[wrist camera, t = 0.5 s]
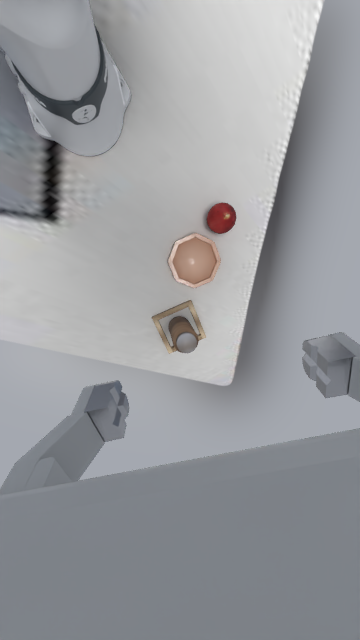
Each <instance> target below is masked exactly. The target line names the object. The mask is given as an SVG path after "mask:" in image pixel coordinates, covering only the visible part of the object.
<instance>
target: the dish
mask: <svg viewBox="0 0 360 640" xmlns="http://www.w3.org/2000/svg"><path fill="white" fill-rule="evenodd" d="M168 261H169V262H168V264H169V267H170V269H171V271H172V274H173V276H174V278H175V280H176V281H177V282H180V283H182V284H185V285H187V286H190V287H192V288H197V287H199V286H201V285H204V284H206V283H208V282H210V281H212V280H213V279H214V277H215V274H216V272H217V270H218V267H219V265H220V263H221V262H220V261H221V259H220V257H219V254H218V251H217V248H216V245H215V242H214V241H212V240H210V239H208V238H206V237H203V236H201V235H199V234H197V233H194V234H191V235H189V236H187V237H185V238H182V239H180V240H178V241H176V242H175V243H174V245H173V248H172V251H171V253H170V256H169V259H168Z"/></svg>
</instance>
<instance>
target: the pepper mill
mask: <svg viewBox="0 0 360 640" xmlns="http://www.w3.org/2000/svg"><path fill="white" fill-rule="evenodd" d="M169 331H170V334H171V338H172V341H173V344H174V347H175V348H176V350H178V351H179V352H182V353H190V352H192V351H194V350H195V348H196V347H197V345H198V336H197V334H196V332H195V331H194V329H193V328H192V326H191V324H190V323H189V321H188V320H187V319H186V318H184V317H181V316H178V317H175V318H173V319H172V320H171V321H170V323H169Z"/></svg>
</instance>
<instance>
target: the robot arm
mask: <svg viewBox="0 0 360 640" xmlns="http://www.w3.org/2000/svg"><path fill="white" fill-rule="evenodd" d="M0 47H1V48H2V49H3V50H4V52H5V53H6V55H5V58H6V60H7V63H8V65H9V67H10V69H11V71H12V73H13V74H14V75H17V77H18V80H19V83H18V87H19V89H20V91H21V93H22V94H23V95H24V98H25V101H26V105H27V108H28V111H29V114H30V117H31V120H32V123H33V126H34V129H35V131H36V132H37V134H38V135H39V136H41V137H43V138H45V139H49V140H53V141H56V142H58V143H59V144H60V145H62V146H63V147H65V148H66V149H68V150H69V151H71V152H73V153H76V154H79V155H83V156H95V155H99V154H102V153H104V152H106V151H107V150H109V149H110V148H111V147H112V146H113V145H114V144H115V143H116V141H117V140H118V138H119V136H120V133H121V130H122V126H123V118H124V112H125V110H126V108H127V106H128V104H129V102H130V99H131V92H130V88H129V86H128V85H127V83H126V81H125V79H124V78H123V76H122V74H121V73H120V71H119V69H118V67H117V66H116V64H115V62H114V60H113V59H112V57H111V55H110V54H109V52H108V50H107V48H106V47H105V45H104V43H103V41H102V40H101V38H100V36H99V33H98V31H97V29H96V26H95V24H94V21H93V17H92V12H91V8H90V4H89V0H0ZM121 85H122V88H121ZM38 121H39V122H40V123H38ZM303 350H304V351H305V352H306V353H305V355H304V356H303V358H302V360H303V367H304V370H305V372H306V374H307V375H308V377H309V378H310V379H312V380H314V381H316V387H317V388H318V389H319V390H320V392H321V393H322V394H323V395H324V397H325V398H330V397H336V396H341V395H347V394H348V395H349V396H350V397H352V398H354V399H356V400H357V401H359V402H360V345H359V344H358V343H357V342H355V341H354V340H352V339H351V338H350V337H348V336H347V335H345V334H344V333H342V332H339V333H335V334H330V335H328V336H323V337H319V338H314V339H310V340H305V341H304V342H303ZM121 390H122V385H121V383H120V381H111V382H106V383H101V384H96V385H91V386H86V387H85V388H83V390H82V393H81V394H80V397H79V399H78V401H77V403H76V405H75V408H74V410H73V412H72V414H71V415H70V416H67V417H66V418H65V419H64V420H63V421H62V422H60V423H59V424H58V425H57V426H56V427H55V428H54V429H53V430H52V431H50V432H49V433H48V434H47V435H46V436H45V437H44V438H43V439H42V440H40V441H39V442H38V443H37V444H36V445H35V446H34V447H33V448H31V450H29V451H28V452H27V453H26V454H25V455H24V456H23V457H21V458H20V459H19V460H18V461H17V462H16V463H15V464H14V466H13V468H12V469H11V471H10V473H9V475H8V476H7V478H6V480H5V481H4V483H3V485H2V487H1V489H0V640H360V428H359V429H353V430H348V431H342V432H337V433H332V434H326V435H321V436H315V437H310V438H305V439H300V440H294V441H288V442H283V443H278V444H273V445H267V446H262V447H256V448H251V449H245V450H240V451H235V452H229V453H224V454H219V455H213V456H208V457H203V458H197V459H192V460H187V461H181V462H176V463H170V464H166V465H160V466H155V467H149V468H144V469H138V470H133V471H128V472H122V473H117V474H112V475H107V476H101V477H96V478H90V479H85V480H79V479H80V477H81V476H82V474H83V473H84V472H85V470H86V469H87V467H88V466H89V465H90V463H91V461H92V460H93V459H94V457H95V456H96V455H97V453H98V452H99V451H100V449H101V448H102V446H103V445H104V442H107V441H112V440H116V439H121V438H124V434H125V429H126V422H125V418H126V417H127V416H128V413H129V403H128V399H127V396H126V394H124V393H123V392H121ZM78 480H79V481H78Z"/></svg>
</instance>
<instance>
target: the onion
mask: <svg viewBox="0 0 360 640" xmlns="http://www.w3.org/2000/svg"><path fill="white" fill-rule="evenodd" d="M235 221H236V212H235V210H234V208H233V207H232V206H231V205H229V204H228V203H219V204H216V205H215V206H213V207H212V208H211V209H210V211H209V213H208V216H207V223H208V226H209V227H210V229H211V230H212V231H214V232H215V233H219V234H222V233H226V232H228V231H229V230H230V229H232V227H233V226H234V224H235Z"/></svg>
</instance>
